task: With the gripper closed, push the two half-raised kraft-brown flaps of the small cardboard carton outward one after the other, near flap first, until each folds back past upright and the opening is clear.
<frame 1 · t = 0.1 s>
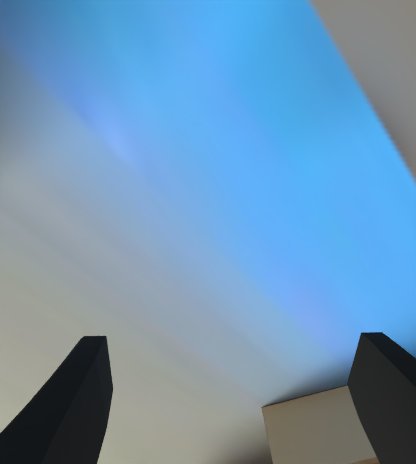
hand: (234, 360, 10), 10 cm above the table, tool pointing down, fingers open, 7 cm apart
carton: (353, 437, 28), on the table
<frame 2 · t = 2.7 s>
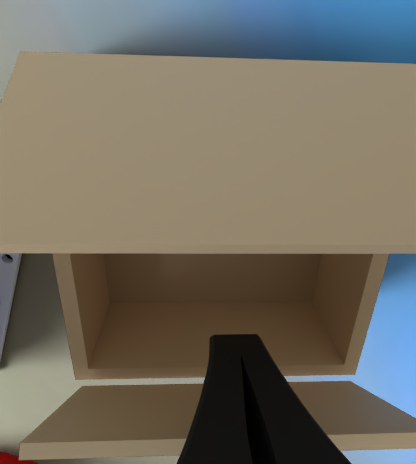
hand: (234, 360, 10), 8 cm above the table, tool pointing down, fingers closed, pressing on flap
carton: (215, 203, 17), on the table
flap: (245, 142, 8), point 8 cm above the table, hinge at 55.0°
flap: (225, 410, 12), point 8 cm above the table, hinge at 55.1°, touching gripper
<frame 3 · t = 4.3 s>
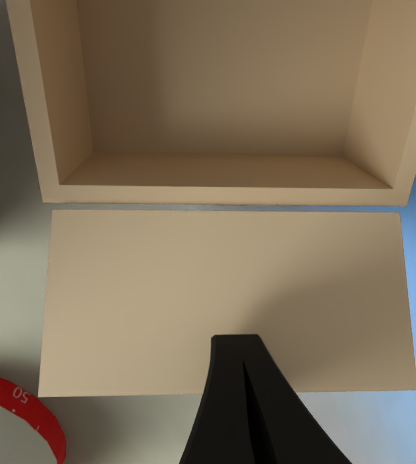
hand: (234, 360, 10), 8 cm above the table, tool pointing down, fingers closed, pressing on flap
carton: (225, 10, 14), on the table
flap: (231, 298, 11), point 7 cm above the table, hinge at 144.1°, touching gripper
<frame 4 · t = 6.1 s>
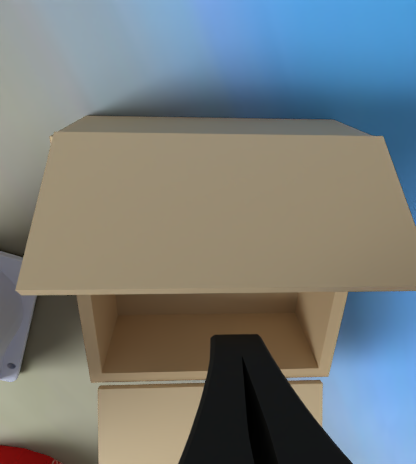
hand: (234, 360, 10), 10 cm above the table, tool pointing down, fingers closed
carton: (209, 229, 20), on the table
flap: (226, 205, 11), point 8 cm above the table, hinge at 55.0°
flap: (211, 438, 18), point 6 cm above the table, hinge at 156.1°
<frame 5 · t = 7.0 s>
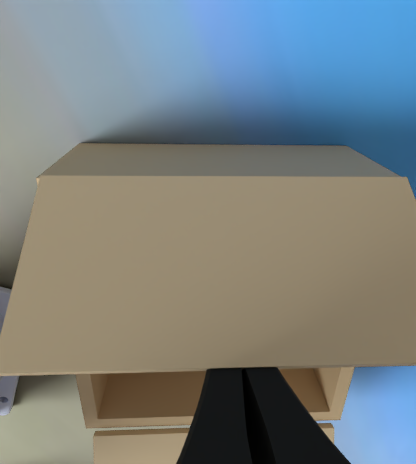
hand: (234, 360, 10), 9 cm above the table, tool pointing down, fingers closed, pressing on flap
carton: (212, 259, 19), on the table
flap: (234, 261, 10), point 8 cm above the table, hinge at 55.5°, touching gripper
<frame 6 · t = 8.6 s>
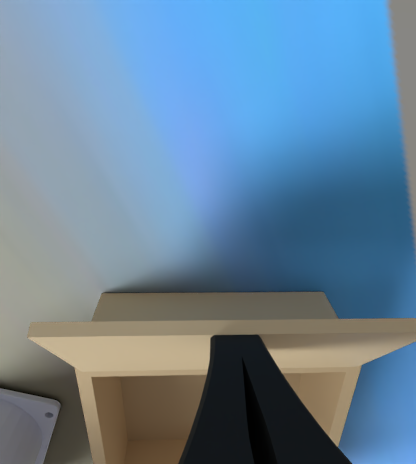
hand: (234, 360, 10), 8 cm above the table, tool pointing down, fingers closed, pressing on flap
carton: (211, 372, 22), on the table
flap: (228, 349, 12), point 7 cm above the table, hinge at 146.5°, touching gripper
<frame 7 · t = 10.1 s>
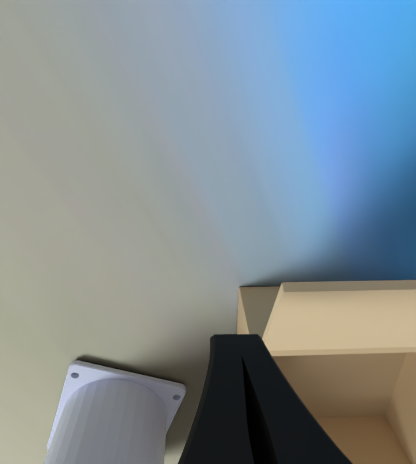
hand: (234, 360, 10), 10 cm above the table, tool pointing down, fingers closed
carton: (321, 357, 25), on the table
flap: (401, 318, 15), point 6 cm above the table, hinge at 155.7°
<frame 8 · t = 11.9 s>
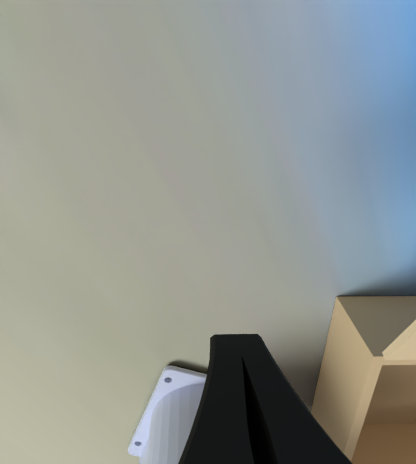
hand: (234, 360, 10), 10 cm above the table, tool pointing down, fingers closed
carton: (404, 365, 25), on the table
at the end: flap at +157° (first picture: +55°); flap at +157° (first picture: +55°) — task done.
